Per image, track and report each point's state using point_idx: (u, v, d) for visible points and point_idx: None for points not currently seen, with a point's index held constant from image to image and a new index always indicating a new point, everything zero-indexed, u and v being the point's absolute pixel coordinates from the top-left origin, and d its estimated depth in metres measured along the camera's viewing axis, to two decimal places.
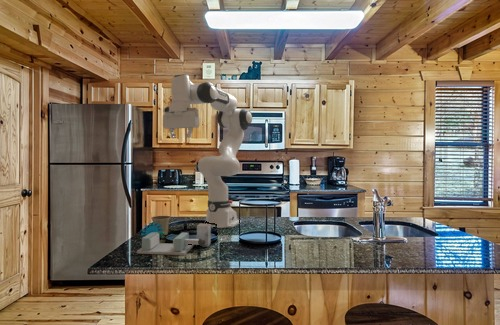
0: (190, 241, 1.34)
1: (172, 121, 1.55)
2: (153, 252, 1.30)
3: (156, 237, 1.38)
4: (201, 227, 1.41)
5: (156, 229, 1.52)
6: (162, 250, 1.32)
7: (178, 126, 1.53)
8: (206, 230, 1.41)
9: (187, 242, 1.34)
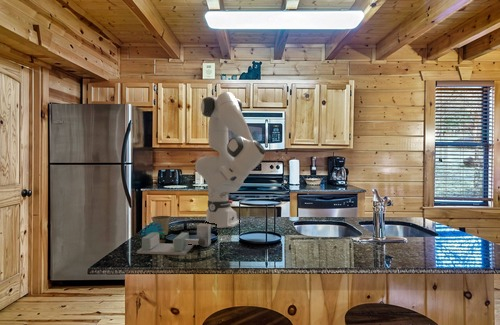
0: (190, 241, 1.34)
1: (224, 186, 1.35)
2: (153, 252, 1.30)
3: (156, 237, 1.38)
4: (201, 227, 1.41)
5: (156, 229, 1.53)
6: (162, 250, 1.32)
7: (225, 191, 1.38)
8: (206, 230, 1.41)
9: (187, 242, 1.34)
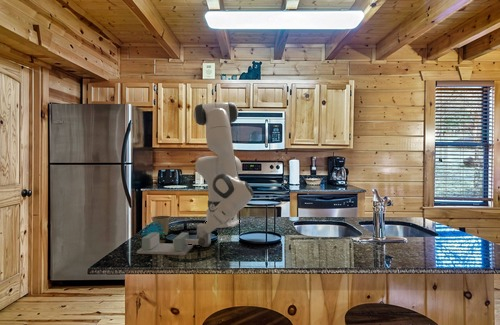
0: (190, 241, 1.34)
1: None
2: (153, 252, 1.30)
3: (156, 237, 1.38)
4: (201, 227, 1.41)
5: (157, 229, 1.53)
6: (162, 250, 1.32)
7: None
8: None
9: (187, 242, 1.34)
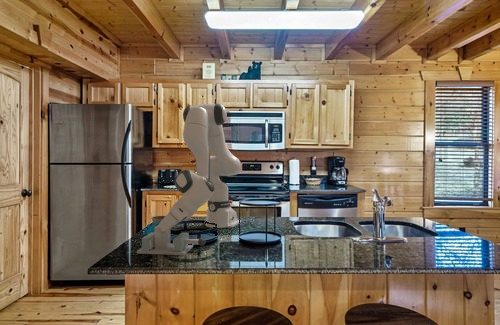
0: (190, 241, 1.34)
1: None
2: (153, 252, 1.30)
3: None
4: None
5: None
6: (162, 250, 1.32)
7: None
8: (164, 232, 1.33)
9: (187, 242, 1.34)
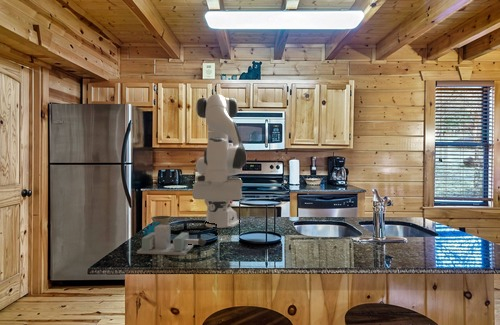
0: (190, 241, 1.34)
1: (207, 191, 1.32)
2: (153, 252, 1.30)
3: None
4: (159, 228, 1.33)
5: None
6: (162, 250, 1.32)
7: (216, 198, 1.31)
8: (164, 232, 1.33)
9: (187, 242, 1.34)
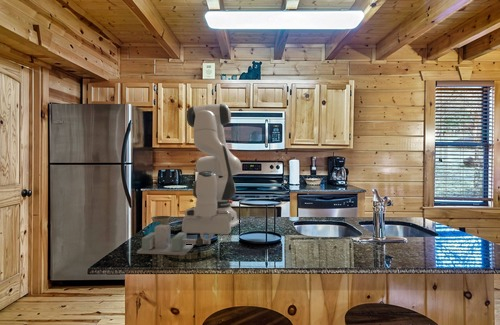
0: (188, 241, 1.34)
1: (196, 225, 1.32)
2: (153, 252, 1.30)
3: None
4: (159, 228, 1.33)
5: None
6: (162, 250, 1.32)
7: (205, 232, 1.32)
8: (164, 232, 1.33)
9: (185, 242, 1.34)
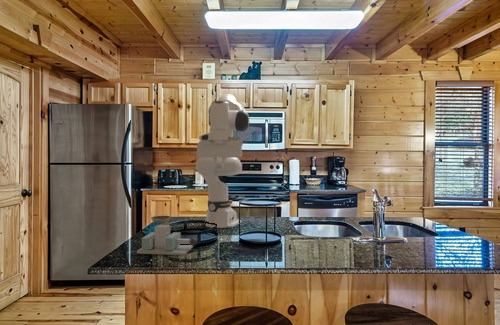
0: (182, 241, 1.34)
1: (210, 150, 1.43)
2: (153, 252, 1.30)
3: None
4: (159, 228, 1.33)
5: None
6: (162, 250, 1.32)
7: (218, 156, 1.42)
8: (164, 232, 1.33)
9: (179, 242, 1.34)
